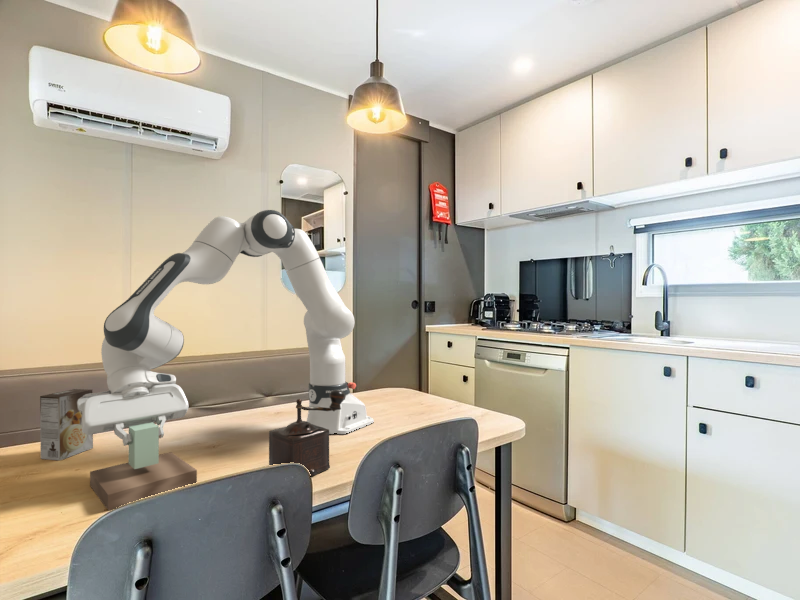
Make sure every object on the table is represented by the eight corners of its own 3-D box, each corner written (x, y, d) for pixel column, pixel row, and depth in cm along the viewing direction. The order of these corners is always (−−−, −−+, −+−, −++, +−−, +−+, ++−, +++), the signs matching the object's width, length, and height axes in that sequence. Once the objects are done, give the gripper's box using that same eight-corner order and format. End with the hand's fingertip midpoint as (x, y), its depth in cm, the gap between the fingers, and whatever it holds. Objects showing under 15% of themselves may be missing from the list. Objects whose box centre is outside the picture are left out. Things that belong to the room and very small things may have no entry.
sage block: (151, 457, 92) (152, 422, 92) (158, 463, 89) (158, 426, 89) (128, 463, 89) (128, 426, 89) (134, 469, 86) (134, 430, 86)
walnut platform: (171, 464, 100) (171, 452, 100) (196, 483, 89) (196, 469, 89) (90, 485, 89) (90, 471, 89) (108, 510, 78) (108, 494, 78)
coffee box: (74, 446, 113) (74, 388, 113) (93, 448, 112) (94, 389, 112) (38, 459, 104) (39, 395, 104) (59, 461, 103) (60, 396, 103)
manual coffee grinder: (294, 484, 89) (293, 400, 89) (267, 470, 97) (267, 393, 97) (349, 463, 100) (349, 389, 101) (321, 452, 108) (321, 384, 108)
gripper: (77, 386, 86) (87, 444, 80) (182, 374, 101) (197, 421, 95) (73, 404, 89) (82, 461, 83) (175, 389, 104) (190, 437, 98)
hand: (144, 440), depth 89 cm, fingers closed on sage block, 4 cm apart
